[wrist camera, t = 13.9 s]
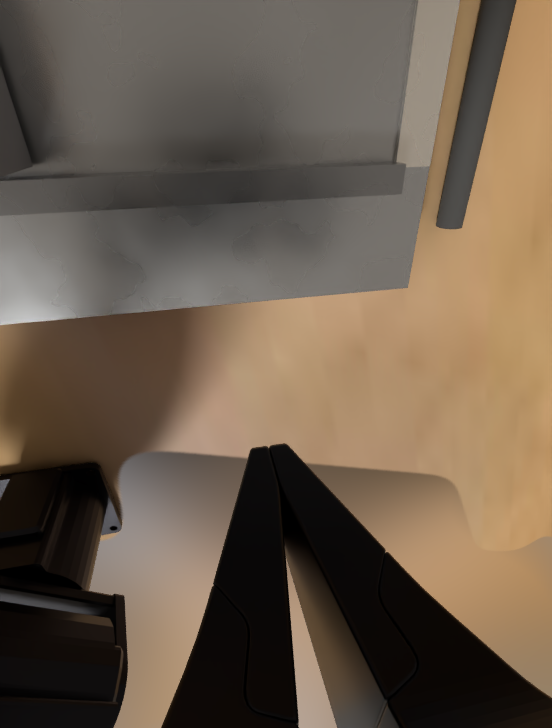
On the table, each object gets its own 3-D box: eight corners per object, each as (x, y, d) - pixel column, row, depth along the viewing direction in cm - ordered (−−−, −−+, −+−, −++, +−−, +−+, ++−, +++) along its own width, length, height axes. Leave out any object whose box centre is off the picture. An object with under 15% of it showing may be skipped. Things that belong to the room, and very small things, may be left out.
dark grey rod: (453, 222, 20) (467, 228, 19) (431, 224, 19) (444, 229, 18) (536, -147, 13) (565, -169, 12) (504, -150, 13) (530, -173, 12)
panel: (381, 266, 20) (418, 296, 17) (-41, 300, 17) (-96, 345, 14) (452, -263, 11) (560, -417, 8) (-381, -373, 8) (-746, -684, 5)
